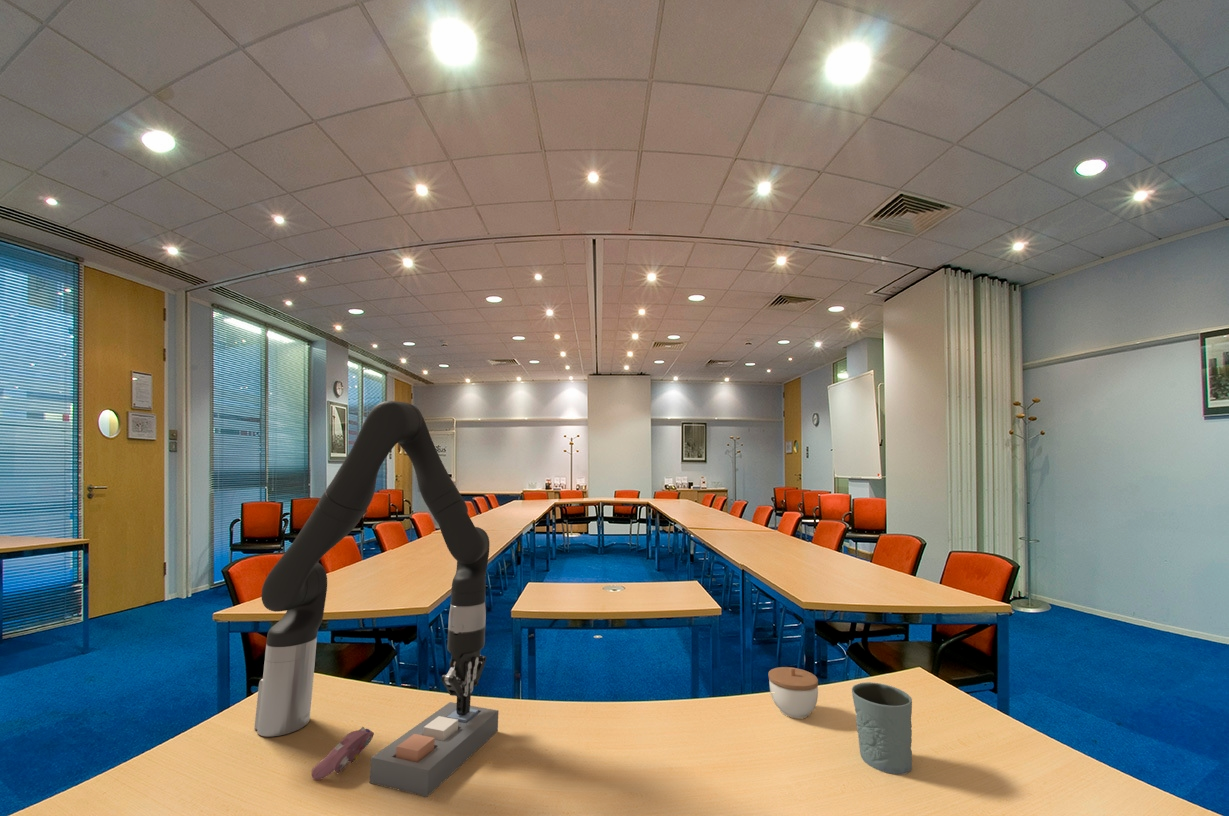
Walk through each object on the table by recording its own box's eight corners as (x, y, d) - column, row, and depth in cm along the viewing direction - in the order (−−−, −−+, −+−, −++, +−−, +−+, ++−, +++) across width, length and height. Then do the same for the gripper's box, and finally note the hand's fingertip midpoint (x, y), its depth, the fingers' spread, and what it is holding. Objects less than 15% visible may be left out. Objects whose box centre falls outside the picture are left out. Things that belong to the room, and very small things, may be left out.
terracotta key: (395, 762, 84) (396, 746, 85) (413, 748, 88) (414, 733, 89) (416, 766, 83) (417, 751, 83) (434, 752, 87) (434, 737, 87)
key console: (369, 782, 83) (371, 757, 84) (449, 721, 104) (450, 702, 105) (427, 796, 80) (428, 770, 80) (497, 731, 100) (498, 710, 101)
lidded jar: (762, 702, 114) (760, 660, 115) (804, 700, 115) (803, 658, 117) (782, 725, 104) (780, 678, 105) (829, 723, 105) (827, 676, 106)
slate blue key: (445, 730, 97) (446, 716, 98) (459, 719, 101) (459, 706, 102) (464, 733, 96) (465, 720, 96) (477, 722, 100) (478, 710, 100)
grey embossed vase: (909, 752, 94) (905, 686, 95) (924, 783, 84) (918, 709, 86) (852, 742, 97) (848, 679, 99) (859, 771, 87) (855, 700, 89)
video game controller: (325, 793, 83) (344, 756, 83) (306, 777, 84) (325, 740, 84) (365, 761, 92) (382, 727, 93) (348, 746, 93) (364, 713, 94)
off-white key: (422, 741, 91) (423, 727, 91) (438, 729, 95) (438, 716, 95) (442, 745, 89) (443, 731, 90) (457, 733, 94) (458, 719, 94)
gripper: (470, 614, 109) (466, 697, 106) (431, 632, 96) (426, 726, 94) (499, 618, 107) (496, 702, 104) (463, 636, 94) (459, 732, 92)
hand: (462, 713), depth 99 cm, fingers closed
